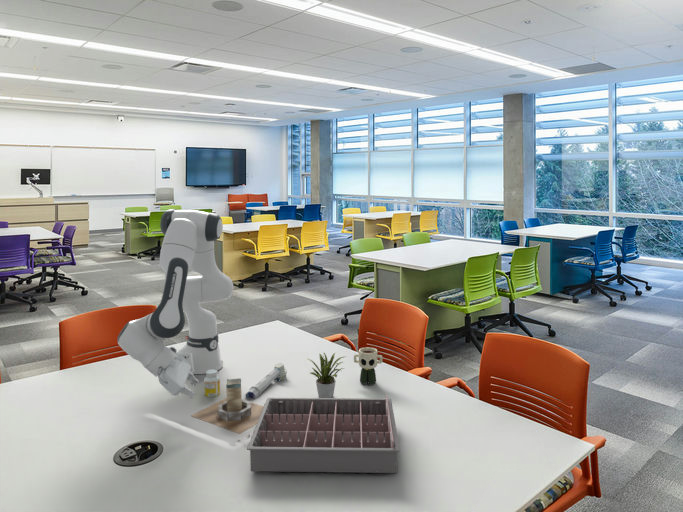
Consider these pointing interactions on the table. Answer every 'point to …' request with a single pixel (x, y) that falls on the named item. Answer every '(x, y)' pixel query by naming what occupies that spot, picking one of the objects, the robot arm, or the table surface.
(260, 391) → the electric toothbrush
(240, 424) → the collar board
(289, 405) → the organizer tray
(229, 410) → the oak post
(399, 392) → the table surface
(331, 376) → the house plant
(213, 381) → the supplement bottle
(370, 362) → the character mug
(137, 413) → the table surface
